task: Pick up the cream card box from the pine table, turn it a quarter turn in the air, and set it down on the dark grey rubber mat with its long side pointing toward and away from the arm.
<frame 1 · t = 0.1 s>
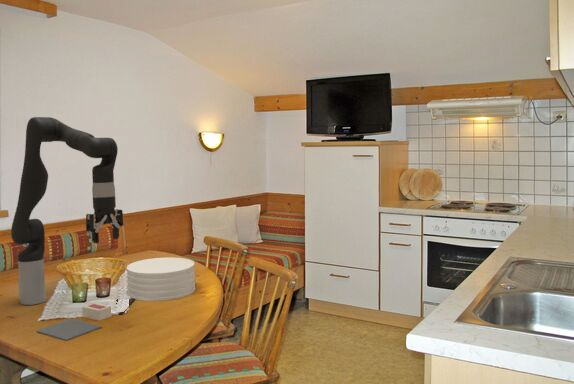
hand: (106, 240, 189), 29 cm above the table, tool pointing down, fingers open, 8 cm apart
plate stack: (161, 291, 229), on the table
chocolate bar: (117, 309, 207), on the table
card box: (97, 317, 197), on the table
mat: (69, 329, 183), on the table
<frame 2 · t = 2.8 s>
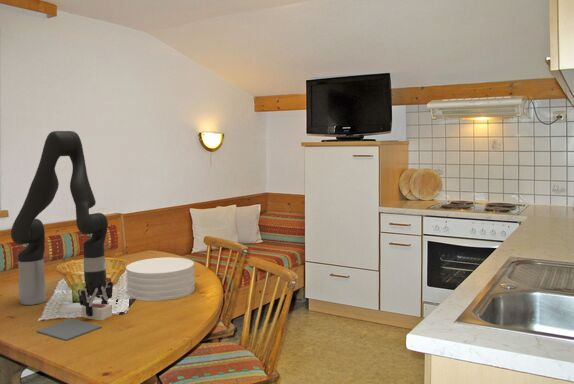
hand: (97, 313, 197), 1 cm above the table, tool pointing down, fingers closed on card box, 6 cm apart
card box: (97, 316, 197), on the table, touching gripper
everything else where it was.
when the fingers open (3 cm above the table, at t = 9.0 s): card box drops 1 cm, resting on mat.
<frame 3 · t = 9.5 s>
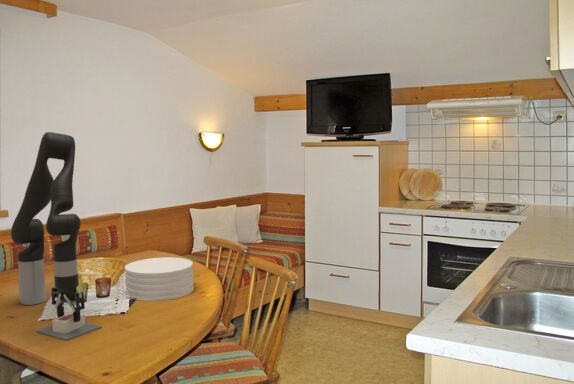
hand: (68, 319, 183), 4 cm above the table, tool pointing down, fingers open, 8 cm apart
card box: (69, 328, 183), resting on mat
everything else where it was.
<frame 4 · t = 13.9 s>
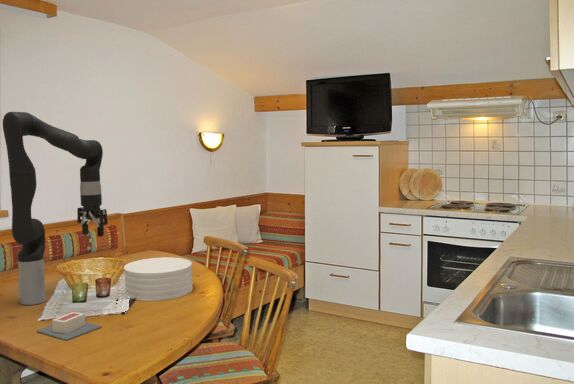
hand: (93, 235, 205), 28 cm above the table, tool pointing down, fingers open, 8 cm apart
at the end: card box inside the target area on the mat (0.1 cm from its centre), point 0.5 cm above the mat's base; card box tilted 0°; the gripper is holding nothing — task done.
